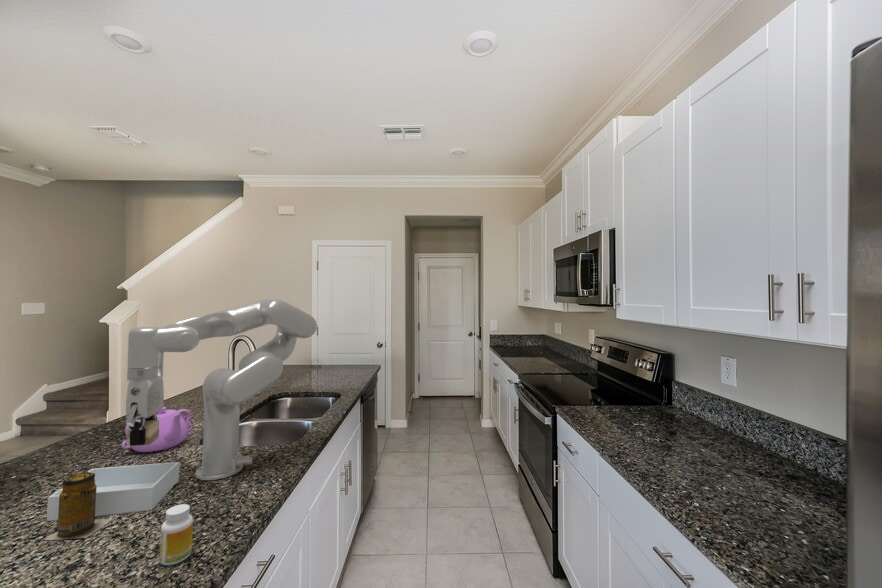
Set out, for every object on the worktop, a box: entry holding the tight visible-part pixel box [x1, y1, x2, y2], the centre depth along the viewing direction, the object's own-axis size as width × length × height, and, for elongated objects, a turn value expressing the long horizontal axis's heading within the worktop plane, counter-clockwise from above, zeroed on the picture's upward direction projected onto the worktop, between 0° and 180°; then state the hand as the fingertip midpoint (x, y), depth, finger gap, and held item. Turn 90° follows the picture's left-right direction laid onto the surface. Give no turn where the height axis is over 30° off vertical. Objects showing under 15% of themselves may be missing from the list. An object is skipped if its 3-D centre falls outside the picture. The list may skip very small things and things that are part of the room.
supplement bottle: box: [159, 503, 194, 566], centre depth 74 cm, size 5×5×10 cm
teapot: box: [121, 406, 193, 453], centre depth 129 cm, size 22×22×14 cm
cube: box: [126, 420, 159, 448], centre depth 97 cm, size 5×5×5 cm
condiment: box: [43, 471, 113, 541], centre depth 82 cm, size 7×8×12 cm
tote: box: [46, 461, 181, 522], centre depth 95 cm, size 21×15×6 cm
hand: (143, 440), depth 97 cm, fingers closed on cube, 5 cm apart
